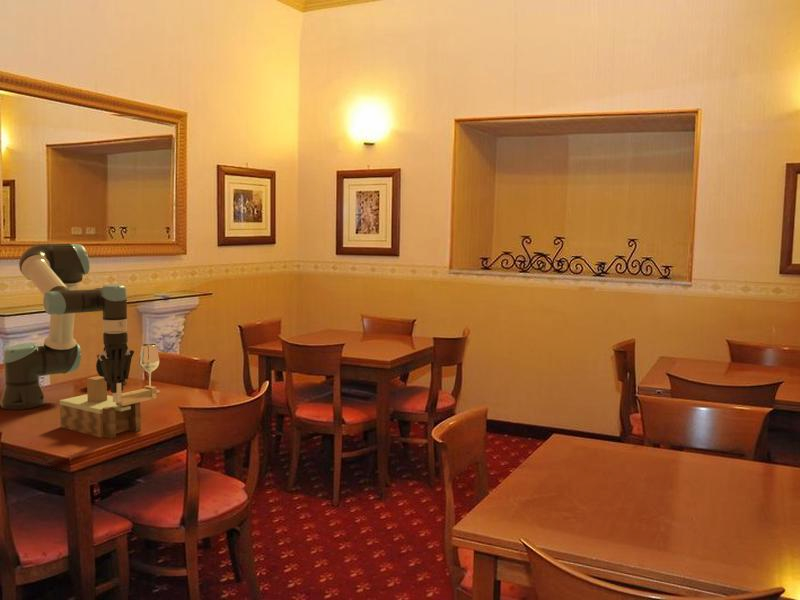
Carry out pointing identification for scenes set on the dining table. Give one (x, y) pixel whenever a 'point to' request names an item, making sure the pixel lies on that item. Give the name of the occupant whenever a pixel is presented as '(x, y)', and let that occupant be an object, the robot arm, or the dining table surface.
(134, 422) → the wooden box
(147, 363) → the wineglass
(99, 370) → the dark ball on base
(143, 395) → the light wooden bar
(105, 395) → the lid
